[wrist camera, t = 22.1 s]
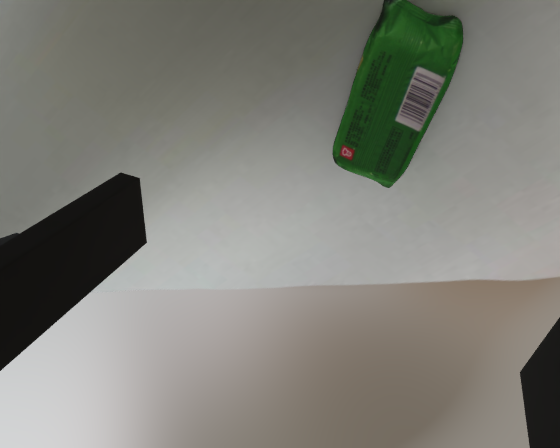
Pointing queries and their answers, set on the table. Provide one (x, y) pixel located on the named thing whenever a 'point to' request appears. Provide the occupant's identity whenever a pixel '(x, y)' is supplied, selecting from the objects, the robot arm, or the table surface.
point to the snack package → (396, 90)
